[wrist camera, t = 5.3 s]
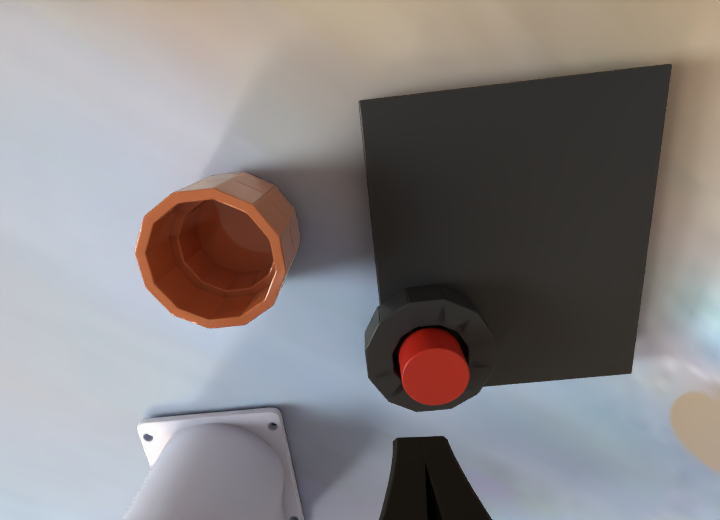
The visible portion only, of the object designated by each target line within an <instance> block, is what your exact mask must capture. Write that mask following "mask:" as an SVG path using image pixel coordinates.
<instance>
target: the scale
mask: <svg viewBox="0 0 720 520" xmlns="http://www.w3.org/2000/svg"><path fill="white" fill-rule="evenodd" d="M671 68H672V65H671V64H664V65H655V66H647V67H638V68H630V69H621V70H613V71H605V72H596V73H588V74H579V75H571V76H562V77H554V78H546V79H537V80H529V81H520V82H512V83H503V84H495V85H486V86H478V87H470V88H461V89H453V90H444V91H436V92H427V93H419V94H411V95H402V96H394V97H385V98H377V99H368V100H360V101H359V110H360V120H361V129H362V139H363V148H364V158H365V168H366V177H367V187H368V196H369V206H370V215H371V225H372V235H373V244H374V254H375V263H376V273H377V282H378V292H379V302H380V305H379V306H378V307H377V309H376V311H375V313H374V315H373V317H372V319H371V321H370V323H369V325H368V327H367V329H366V331H365V355H366V363H367V371H368V378H369V379H370V381H371V382H372V383H373V384H374V385H375V386H376V387H377V389H378V390H379V391H380V392H381V393H382V394H383V396H384V397H385V398H386V399H387V400H388V401H389V402H391V403H394V404H396V405H399V406H402V407H405V408H407V409H410V410H413V411H415V412H418V411H419V412H422V411H433V410H445V409H449V408H450V409H452V408H454V407H455V406H457V405H459V404H461V403H462V402H464V401H466V400H468V399H470V398H471V397H473V396H475V395H477V394H478V393H479V392H480V390H481V389H482V387H485V386H496V385H507V384H519V383H530V382H542V381H553V380H564V379H576V378H587V377H598V376H610V375H621V374H631V373H632V365H633V358H634V350H635V342H636V335H637V327H638V319H639V312H640V304H641V297H642V289H643V281H644V274H645V266H646V258H647V251H648V243H649V235H650V228H651V220H652V213H653V205H654V197H655V190H656V182H657V174H658V167H659V159H660V152H661V144H662V136H663V129H664V121H665V113H666V106H667V98H668V91H669V83H670V75H671ZM423 328H439V329H442V330H445V331H447V332H449V333H450V334H452V335H453V336H454V337H455V338H456V340H457V341H458V343H459V345H460V348H461V350H462V352H463V355H464V357H465V360H466V362H467V365H468V367H469V372H470V378H469V382H468V385H467V387H466V389H465V390H464V392H463V393H462V394H461V395H460V396H459V397H458V398H456V399H455V400H453V401H451V402H449V403H446V404H442V405H426V404H422V403H420V402H417V401H416V400H414V399H413V398H411V397H410V396H409V395H408V394H407V392H406V391H405V389H404V387H403V384H402V378H401V371H400V364H399V350H400V347H401V344H402V343H403V341H404V340H405V339H406V338H407V337H408V336H409V335H410V334H412V333H413V332H415V331H417V330H420V329H423Z"/></svg>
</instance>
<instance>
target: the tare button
mask: <svg viewBox="0 0 720 520" xmlns="http://www.w3.org/2000/svg"><path fill="white" fill-rule="evenodd" d="M399 364H400V371H401V378H402V384H403V387H404V389H405V391H406V392H407V394H408V395H409V396H410V397H411V398H413V399H414V400H416V401H417V402H420V403H422V404H426V405H442V404H446V403H449V402H451V401H453V400H455V399H456V398H458V397H459V396H460V395H461V394H462V393H463V392H464V390H465V389H466V387H467V385H468V382H469V378H470V372H469V367H468V365H467V362H466V360H465V357H464V355H463V352H462V350H461V348H460V345H459V343H458V341H457V340H456V338H455V337H454V336H453V335H452V334H450V333H449V332H447V331H445V330H442V329H439V328H423V329H420V330H417V331H415V332H413V333H412V334H410V335H409V336H408V337H407V338H406V339H405V340H404V341H403V343H402V344H401V347H400V350H399Z"/></svg>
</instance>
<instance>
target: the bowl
mask: <svg viewBox="0 0 720 520" xmlns="http://www.w3.org/2000/svg"><path fill="white" fill-rule="evenodd" d="M300 241H301V238H300V232H299V226H298V220H297V214H296V212H295V209H294V208H293V207H292V205H291V204H290V203H289V202H288V200H287V199H286V198H285V197H284V195H283V194H282V193H281V192H280V190H279V189H278V188H277V187H276V186H275V185H274V184H272V183H269V182H267V181H265V180H262V179H260V178H258V177H255V176H253V175H251V174H248V173H246V172H236V173H227V174H218V175H212V176H209V177H207V178H205V179H203V180H200V181H198V182H196V183H194V184H191V185H189V186H187V187H184V188H182V189H180V190H178V191H175V192H173V193H171V194H170V195H169V196H168V197H167V198H165V199H164V200H163V201H162V202H161V203H159V204H158V205H157V206H156V207H155V208H153V209H152V210H151V211H150V212H148V213H147V214H146V215H145V217H144V218H143V222H142V226H141V230H140V233H139V237H138V241H137V245H136V248H135V255H136V258H137V261H138V264H139V268H140V271H141V274H142V277H143V280H144V284H145V287H146V288H147V289H148V290H149V291H150V292H151V293H152V294H153V295H154V296H155V298H156V299H157V300H158V301H159V302H160V303H161V304H162V305H163V306H164V307H165V308H166V309H167V310H168V311H169V312H170V313H171V314H172V315H174V316H176V317H179V318H182V319H185V320H187V321H190V322H193V323H195V324H198V325H201V326H203V327H206V328H220V327H230V326H240V325H246V324H248V323H249V322H250V321H252V320H253V319H255V318H256V317H258V316H259V315H260V314H262V313H263V312H265V311H266V310H268V309H269V308H270V307H272V306H273V305H274V303H275V301H276V299H277V297H278V295H279V292H280V290H281V288H282V286H283V283H284V281H285V279H286V277H287V274H288V272H289V270H290V268H291V265H292V263H293V261H294V258H295V256H296V253H297V251H298V248H299V246H300Z"/></svg>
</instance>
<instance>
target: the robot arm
mask: <svg viewBox="0 0 720 520" xmlns="http://www.w3.org/2000/svg"><path fill="white" fill-rule="evenodd" d="M270 423H275V424H277V425H272V424H270ZM137 431H138V434H139V437H140V439H141V442H142V445H143V448H144V450H145V453H146V456H147V459H148V461H149V464H150V467H151V470H150V472H149V474H148V475H147V477H146V479H145V481H144V482H143V484H142V486H141V487H140V489H139V491H138V492H137V494H136V496H135V498H134V499H133V501H132V503H131V504H130V506H129V508H128V510H127V511H126V513H125V515H124V516H123V518H122V520H304V517H303V512H302V507H301V503H300V498H299V494H298V489H297V484H296V480H295V475H294V470H293V466H292V461H291V456H290V452H289V447H288V442H287V438H286V433H285V428H284V424H283V419H282V414H281V412H280V411H279V410H278V409H276V408H260V409H248V410H237V411H225V412H214V413H203V414H191V415H180V416H169V417H157V418H146V419H143V420H141V421H140V423H139V424H138V426H137ZM148 434H150V435H152V436H150V435H148ZM294 516H295V517H294ZM379 520H492V519H491V517H490V516H489V514H488V512H487V511H486V509H485V508H484V506H483V505H482V503H481V501H480V500H479V498H478V497H477V495H476V493H475V492H474V490H473V488H472V487H471V485H470V483H469V482H468V480H467V478H466V476H465V474H464V473H463V471H462V469H461V467H460V465H459V463H458V462H457V460H456V458H455V456H454V454H453V451H452V449H451V447H450V445H449V442H448V440H447V439H446V438H445V437H444V436H431V437H404V438H396V439H395V440H394V441H393V457H392V465H391V471H390V477H389V482H388V487H387V491H386V495H385V499H384V503H383V507H382V511H381V515H380V518H379Z"/></svg>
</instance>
